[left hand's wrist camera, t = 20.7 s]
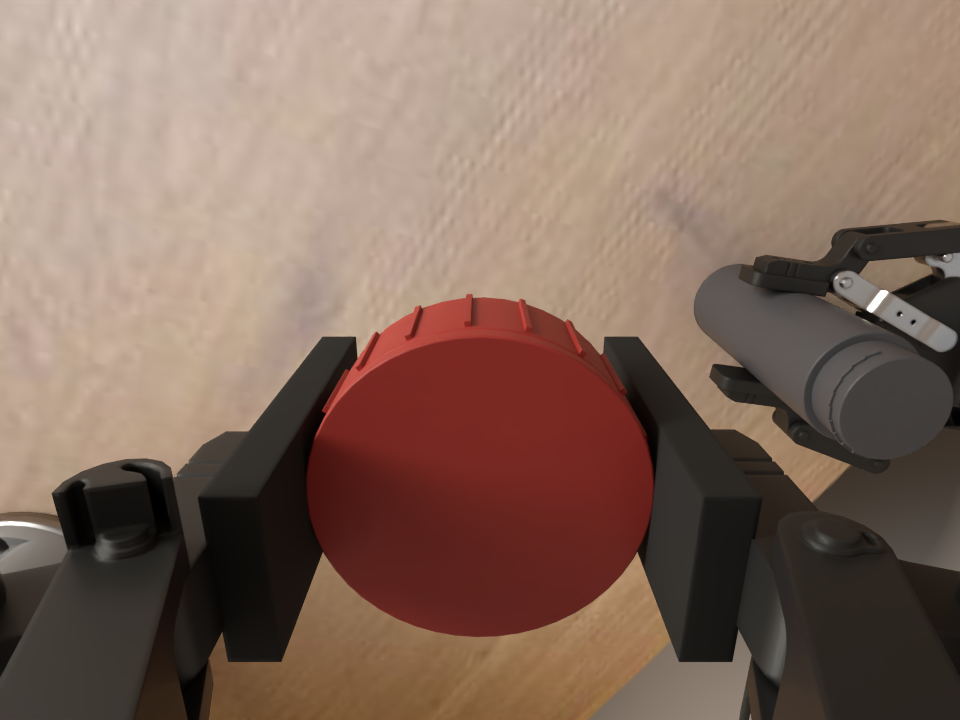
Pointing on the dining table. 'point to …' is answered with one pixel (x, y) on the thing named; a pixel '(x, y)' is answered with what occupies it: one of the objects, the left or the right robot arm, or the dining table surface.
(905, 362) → the jar
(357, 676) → the dining table surface
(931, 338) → the right robot arm
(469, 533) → the lid
